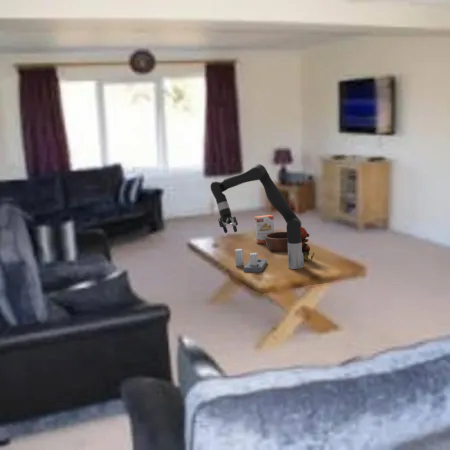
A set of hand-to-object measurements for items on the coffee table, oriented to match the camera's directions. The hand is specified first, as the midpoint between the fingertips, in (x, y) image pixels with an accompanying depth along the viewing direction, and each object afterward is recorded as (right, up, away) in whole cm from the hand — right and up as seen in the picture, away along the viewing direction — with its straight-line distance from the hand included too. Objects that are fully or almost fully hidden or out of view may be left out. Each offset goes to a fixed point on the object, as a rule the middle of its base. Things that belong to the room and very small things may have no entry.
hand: (231, 232), depth 442 cm
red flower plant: (+50, -19, +20) cm, 57 cm away
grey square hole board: (+16, -24, +6) cm, 30 cm away
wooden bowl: (+39, -13, +55) cm, 69 cm away
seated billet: (+15, -25, +1) cm, 29 cm away
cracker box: (+27, -9, +79) cm, 83 cm away
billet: (+6, -23, +14) cm, 27 cm away
